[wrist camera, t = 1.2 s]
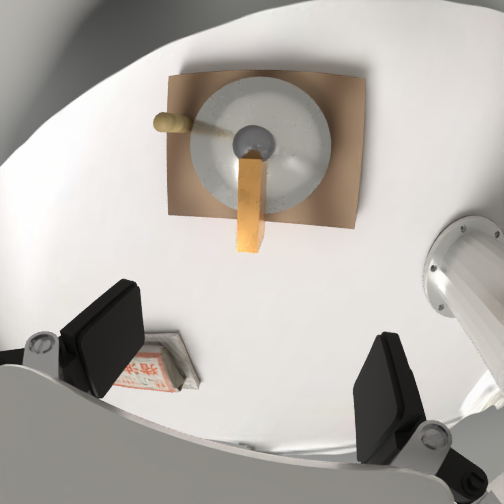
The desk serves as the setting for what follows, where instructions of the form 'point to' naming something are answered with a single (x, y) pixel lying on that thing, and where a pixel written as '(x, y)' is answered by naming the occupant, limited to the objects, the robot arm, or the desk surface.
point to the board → (341, 158)
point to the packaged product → (160, 366)
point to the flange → (259, 150)
